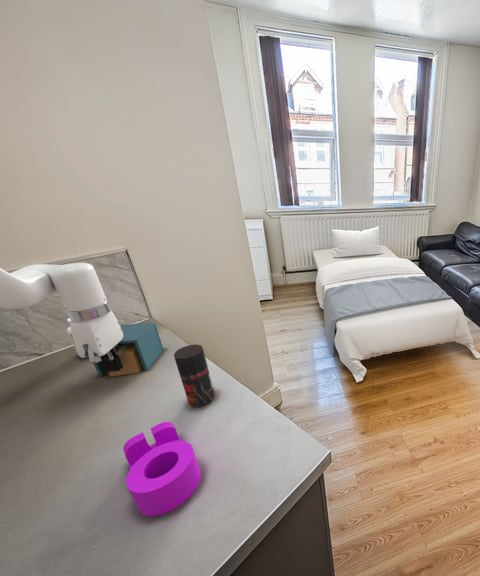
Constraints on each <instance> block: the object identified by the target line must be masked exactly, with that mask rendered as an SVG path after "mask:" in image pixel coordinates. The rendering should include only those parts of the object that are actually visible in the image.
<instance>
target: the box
mask: <svg viewBox="0 0 480 576" xmlns="http://www.w3.org/2000/svg"><path fill="white" fill-rule="evenodd" d="M118 349H119V355H117V356H119V358H120V360H121V362H122V365H123V368H121V370H120V371H113V372H107V373H108V375H109V377H118V376H124V375H125V376H126V375H131V374H139V373H140V372H141V371H142V369H144V367H143V365H142V362H141V359H140V357H139V354H138V351H137V348H136V346H135V343H126V344H119V346H118Z"/></svg>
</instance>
